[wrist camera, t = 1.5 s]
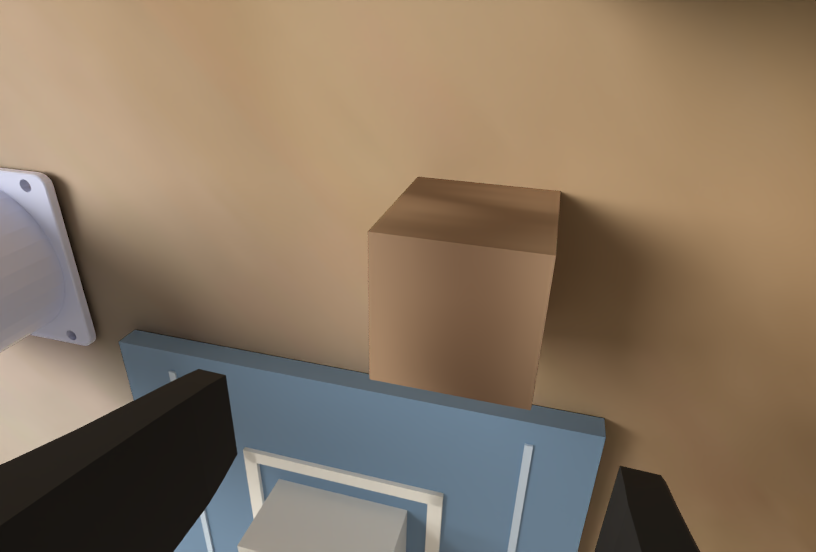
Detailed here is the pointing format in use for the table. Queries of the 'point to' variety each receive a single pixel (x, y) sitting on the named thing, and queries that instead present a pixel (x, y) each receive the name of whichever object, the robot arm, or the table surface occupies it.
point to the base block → (323, 523)
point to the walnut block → (462, 289)
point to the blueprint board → (385, 451)
